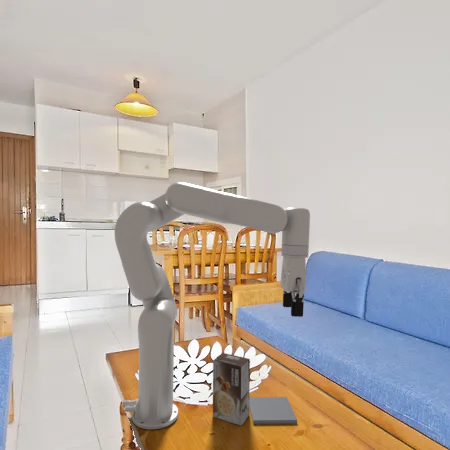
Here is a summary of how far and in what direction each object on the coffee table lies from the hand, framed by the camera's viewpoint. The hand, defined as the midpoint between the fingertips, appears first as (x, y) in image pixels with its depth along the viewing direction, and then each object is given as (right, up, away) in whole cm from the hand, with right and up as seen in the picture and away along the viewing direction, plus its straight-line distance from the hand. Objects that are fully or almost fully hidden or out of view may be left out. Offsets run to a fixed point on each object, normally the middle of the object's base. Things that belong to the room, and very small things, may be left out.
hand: (292, 311), depth 95 cm
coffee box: (-17, -30, -1) cm, 34 cm away
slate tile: (-6, -30, +2) cm, 30 cm away
